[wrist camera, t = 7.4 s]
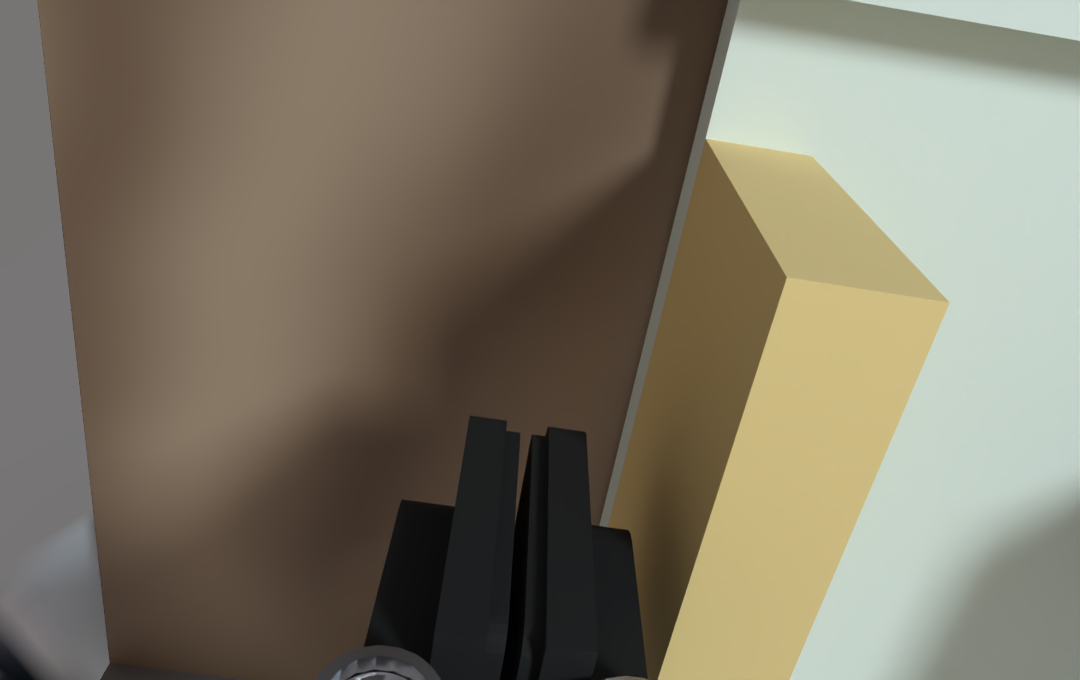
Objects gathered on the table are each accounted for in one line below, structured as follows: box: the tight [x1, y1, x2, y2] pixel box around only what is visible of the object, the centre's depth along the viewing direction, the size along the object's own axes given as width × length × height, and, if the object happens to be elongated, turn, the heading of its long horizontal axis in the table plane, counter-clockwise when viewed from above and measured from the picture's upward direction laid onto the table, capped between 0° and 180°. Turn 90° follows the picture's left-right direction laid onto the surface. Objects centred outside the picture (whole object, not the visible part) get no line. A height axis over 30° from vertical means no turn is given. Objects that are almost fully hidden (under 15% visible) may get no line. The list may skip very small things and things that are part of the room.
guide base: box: [38, 0, 728, 680], centre depth 16 cm, size 28×20×3 cm
